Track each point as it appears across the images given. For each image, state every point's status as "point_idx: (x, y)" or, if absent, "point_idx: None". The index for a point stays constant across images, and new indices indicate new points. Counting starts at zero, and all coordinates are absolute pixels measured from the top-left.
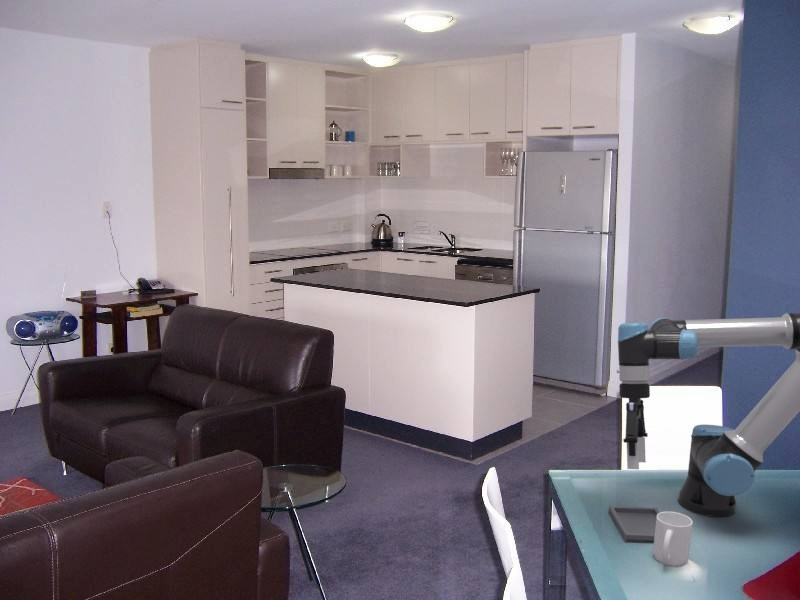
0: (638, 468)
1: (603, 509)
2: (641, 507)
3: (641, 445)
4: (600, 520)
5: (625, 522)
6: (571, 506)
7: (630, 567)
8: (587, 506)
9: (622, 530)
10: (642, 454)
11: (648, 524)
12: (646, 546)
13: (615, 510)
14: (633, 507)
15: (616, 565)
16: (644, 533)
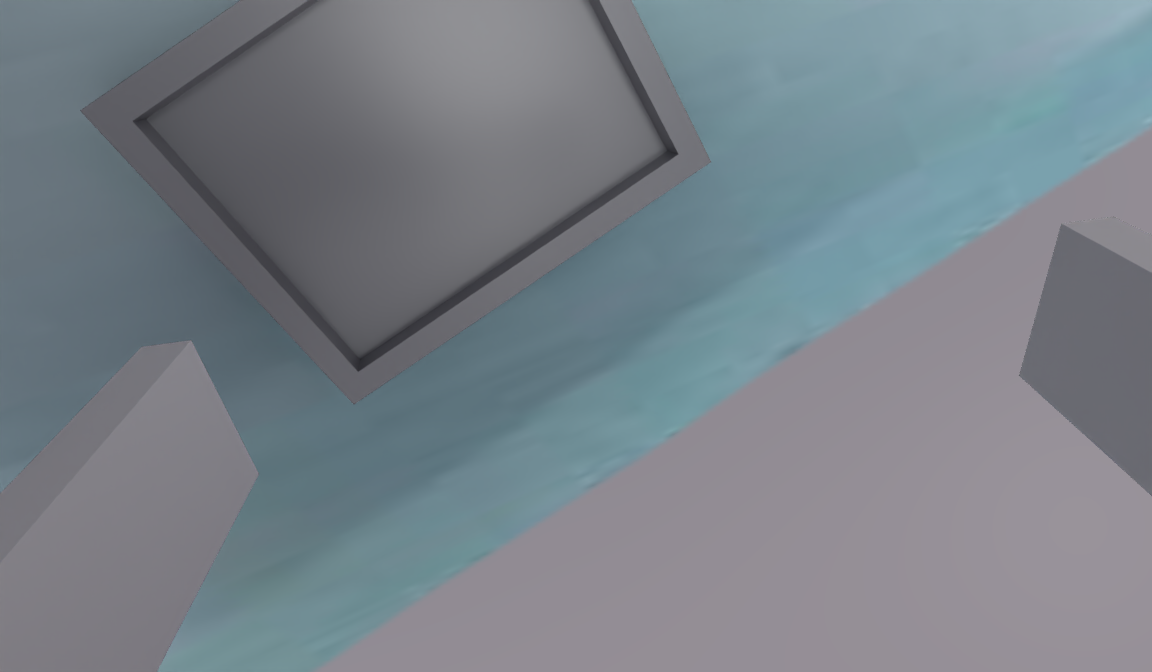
0: (1127, 223)
1: (325, 425)
2: (185, 220)
3: (22, 646)
4: (495, 375)
5: (463, 240)
6: (425, 561)
7: (958, 31)
8: (357, 506)
9: (644, 204)
10: (142, 466)
11: (383, 96)
12: (673, 22)
13: (351, 354)
14: (238, 269)
15: (963, 106)
16: (548, 77)
